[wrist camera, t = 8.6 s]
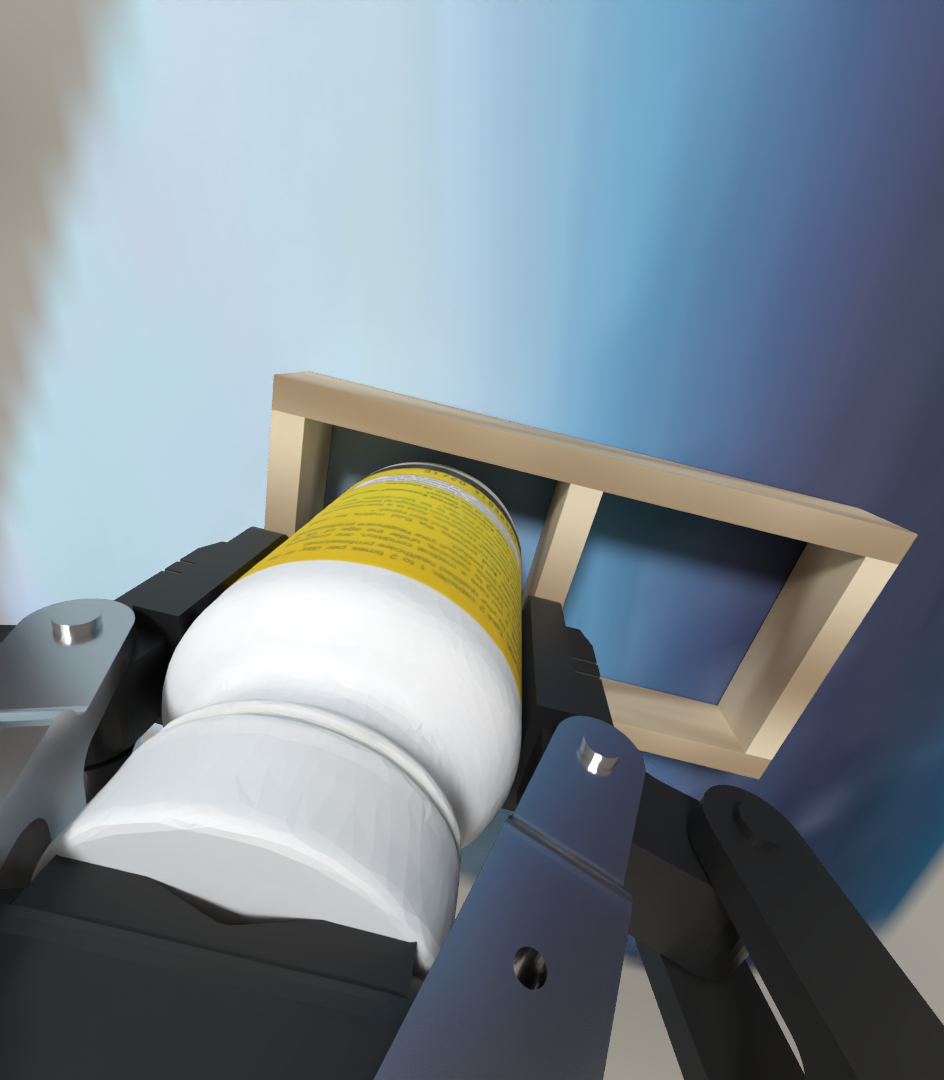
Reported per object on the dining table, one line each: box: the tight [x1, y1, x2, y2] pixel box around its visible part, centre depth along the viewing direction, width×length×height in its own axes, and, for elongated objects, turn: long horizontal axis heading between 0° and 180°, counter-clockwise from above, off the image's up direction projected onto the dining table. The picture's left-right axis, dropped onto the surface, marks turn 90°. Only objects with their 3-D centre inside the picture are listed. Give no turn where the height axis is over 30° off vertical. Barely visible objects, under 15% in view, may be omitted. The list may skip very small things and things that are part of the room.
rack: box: [264, 372, 918, 779], centre depth 12 cm, size 8×15×4 cm, turn 77°
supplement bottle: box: [32, 462, 522, 980], centre depth 9 cm, size 5×5×10 cm
